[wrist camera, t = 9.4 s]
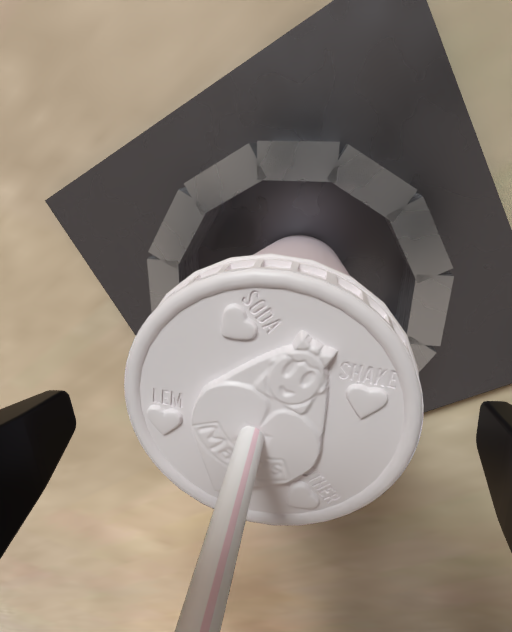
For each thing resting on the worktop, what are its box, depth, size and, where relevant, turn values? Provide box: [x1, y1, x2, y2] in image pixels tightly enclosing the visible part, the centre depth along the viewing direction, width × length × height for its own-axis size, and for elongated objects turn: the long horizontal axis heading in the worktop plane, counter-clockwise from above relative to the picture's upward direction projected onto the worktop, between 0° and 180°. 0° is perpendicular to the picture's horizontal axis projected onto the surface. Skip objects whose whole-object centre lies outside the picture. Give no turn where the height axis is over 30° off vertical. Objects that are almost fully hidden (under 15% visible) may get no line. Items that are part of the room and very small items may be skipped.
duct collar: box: [45, 0, 512, 413], centre depth 17 cm, size 16×16×3 cm
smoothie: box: [124, 235, 424, 632], centre depth 11 cm, size 6×6×14 cm
